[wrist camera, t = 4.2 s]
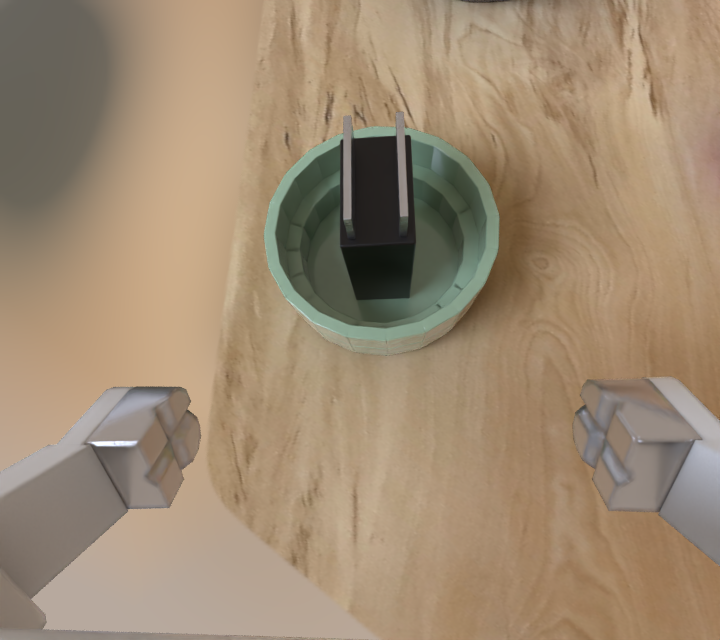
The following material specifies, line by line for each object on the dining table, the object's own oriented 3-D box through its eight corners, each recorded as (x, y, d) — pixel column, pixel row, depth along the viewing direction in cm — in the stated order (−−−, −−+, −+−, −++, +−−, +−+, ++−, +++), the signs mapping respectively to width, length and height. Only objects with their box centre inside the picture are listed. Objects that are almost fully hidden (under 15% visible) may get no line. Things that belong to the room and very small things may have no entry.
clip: (410, 298, 22) (418, 223, 14) (356, 300, 23) (333, 227, 14) (406, 217, 24) (412, 103, 15) (355, 219, 24) (334, 109, 16)
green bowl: (475, 366, 22) (495, 351, 17) (273, 346, 23) (245, 328, 19) (483, 182, 24) (502, 130, 20) (302, 173, 26) (284, 122, 21)
